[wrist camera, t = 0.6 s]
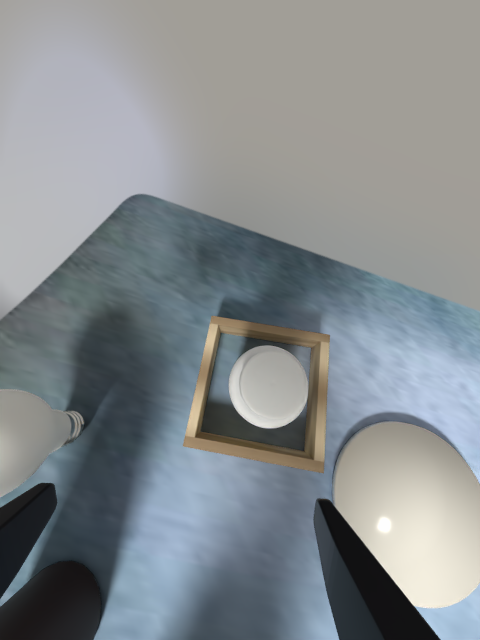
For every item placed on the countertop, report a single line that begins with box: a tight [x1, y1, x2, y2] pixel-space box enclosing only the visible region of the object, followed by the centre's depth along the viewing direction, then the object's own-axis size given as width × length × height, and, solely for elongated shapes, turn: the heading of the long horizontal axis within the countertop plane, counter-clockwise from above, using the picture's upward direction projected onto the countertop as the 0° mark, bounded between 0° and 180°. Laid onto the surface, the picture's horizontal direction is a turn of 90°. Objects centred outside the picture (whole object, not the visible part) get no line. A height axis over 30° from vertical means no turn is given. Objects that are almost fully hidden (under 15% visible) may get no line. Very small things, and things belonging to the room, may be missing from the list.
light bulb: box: [0, 389, 85, 497], centre depth 16 cm, size 7×7×11 cm
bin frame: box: [183, 316, 330, 473], centre depth 21 cm, size 12×12×3 cm
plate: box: [332, 421, 480, 608], centre depth 19 cm, size 13×13×1 cm
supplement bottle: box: [229, 345, 308, 428], centre depth 18 cm, size 6×6×10 cm
